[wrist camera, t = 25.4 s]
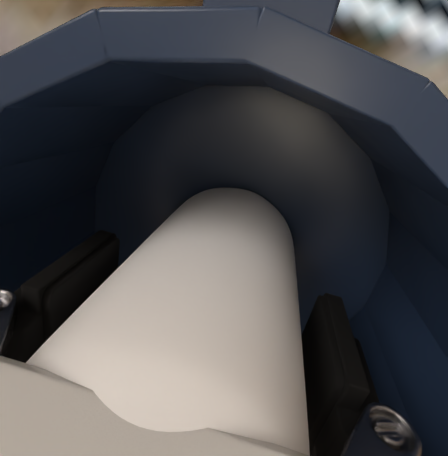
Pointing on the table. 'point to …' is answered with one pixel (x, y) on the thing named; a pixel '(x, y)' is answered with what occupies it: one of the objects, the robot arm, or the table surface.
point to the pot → (243, 162)
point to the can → (197, 326)
